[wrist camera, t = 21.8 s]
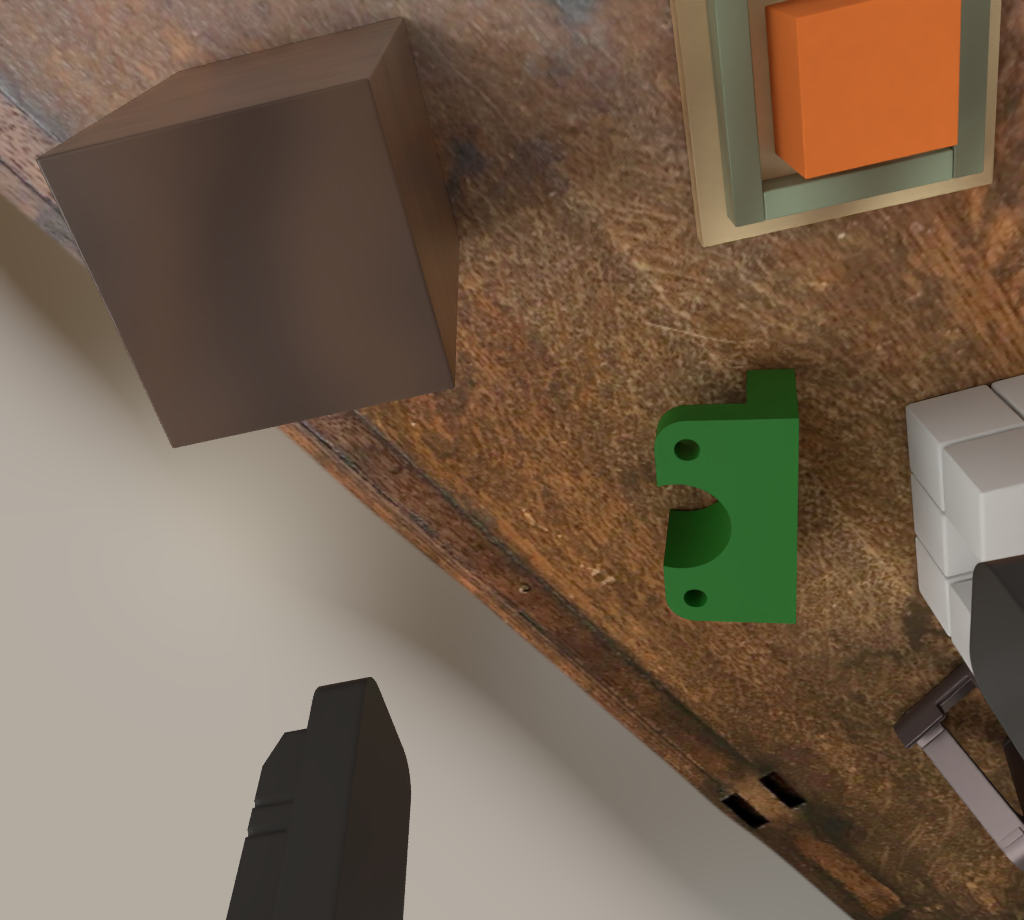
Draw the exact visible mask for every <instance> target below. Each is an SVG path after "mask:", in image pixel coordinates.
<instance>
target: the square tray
mask: <svg viewBox="0 0 1024 920" xmlns="http://www.w3.org/2000/svg"><path fill="white" fill-rule="evenodd" d="M783 1H787V0H670V8H671V16H672V25H673V33H674V42H675V50H676V58H677V67H678V75H679V84H680V92H681V101H682V109H683V118H684V126H685V135H686V143H687V151H688V160H689V168H690V177H691V185H692V194H693V202H694V211H695V219H696V228H697V236H698V239H699V241H700V242H701V244H702V245H703V247H708V246H713V245H717V244H722V243H726V242H731V241H735V240H740V239H744V238H749V237H753V236H758V235H762V234H767V233H771V232H776V231H780V230H785V229H789V228H794V227H798V226H803V225H807V224H812V223H816V222H821V221H825V220H830V219H834V218H839V217H844V216H848V215H853V214H857V213H862V212H866V211H871V210H875V209H880V208H884V207H889V206H893V205H898V204H902V203H907V202H911V201H916V200H920V199H925V198H929V197H934V196H938V195H943V194H947V193H952V192H956V191H961V190H965V189H970V188H974V187H979V186H983V185H988V184H992V183H993V165H994V144H995V123H996V103H997V82H998V61H999V40H1000V20H1001V0H961V35H960V74H959V112H958V144H957V145H954V146H950V147H945V148H941V149H937V150H932V151H928V152H923V153H919V154H915V155H910V156H906V157H902V158H897V159H893V160H888V161H884V162H880V163H875V164H871V165H866V166H862V167H858V168H853V169H849V170H844V171H840V172H836V173H831V174H827V175H822V176H818V177H814V178H809V179H805V178H804V177H803V176H801V175H800V174H799V173H798V172H797V171H796V170H794V169H793V168H792V167H791V166H790V165H788V164H787V163H786V162H785V161H784V160H783V159H781V158H780V157H779V156H778V155H777V154H776V153H775V142H774V128H773V114H772V100H771V87H770V73H769V59H768V46H767V32H766V18H765V6H767V5H771V4H775V3H779V2H783Z"/></svg>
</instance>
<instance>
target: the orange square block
mask: <svg viewBox="0 0 1024 920" xmlns="http://www.w3.org/2000/svg"><path fill="white" fill-rule="evenodd" d="M765 18H766V32H767V46H768V59H769V73H770V87H771V100H772V114H773V128H774V142H775V153H776V154H777V155H778V156H779V157H780V158H781V159H783V160H784V161H785V162H786V163H787V164H788V165H790V166H791V167H792V168H793V169H794V170H796V171H797V172H798V173H799V174H800V175H801V176H803V177H804V178H805V179H809V178H814V177H818V176H822V175H827V174H831V173H836V172H840V171H844V170H849V169H853V168H858V167H862V166H866V165H871V164H875V163H880V162H884V161H888V160H893V159H897V158H902V157H906V156H910V155H915V154H919V153H923V152H928V151H932V150H937V149H941V148H945V147H950V146H954V145H957V144H958V112H959V74H960V35H961V0H787V1H783V2H779V3H775V4H771V5H767V6H765Z"/></svg>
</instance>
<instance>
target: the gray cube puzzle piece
mask: <svg viewBox="0 0 1024 920" xmlns="http://www.w3.org/2000/svg"><path fill="white" fill-rule="evenodd" d="M905 409H906V422H907V435H908V449H909V462H910V469H911V471H912V472H913V473H912V474H911V489H912V502H913V515H914V528H915V533H916V535H917V537H916V538H915V542H916V555H917V568H918V582H919V591H920V592H921V594H922V596H923V597H924V599H925V600H926V602H927V603H928V605H929V606H930V608H931V610H932V611H933V613H934V614H935V616H936V617H937V619H938V620H939V622H940V624H941V625H942V627H943V628H944V630H945V631H946V633H947V634H948V636H950V637H952V642H953V644H954V645H955V647H956V648H957V650H958V652H959V653H960V655H961V656H962V658H963V659H964V661H965V662H966V664H967V666H968V667H969V669H970V670H971V672H972V673H973V670H972V666H971V661H970V653H969V642H970V621H971V600H972V579H973V571H974V568H975V566H976V565H977V564H978V563H980V562H986V561H991V560H996V559H1001V558H1007V557H1012V556H1017V555H1022V554H1024V375H1020V376H1016V377H1012V378H1008V379H1004V380H1001V381H997V382H994V383H992V385H991V389H990V388H989V387H988V386H986V385H981V386H977V387H974V388H970V389H966V390H962V391H958V392H954V393H950V394H947V395H943V396H939V397H935V398H931V399H927V400H923V401H919V402H916V403H912V404H908V405H907V406H906V408H905ZM973 675H974V673H973Z"/></svg>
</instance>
